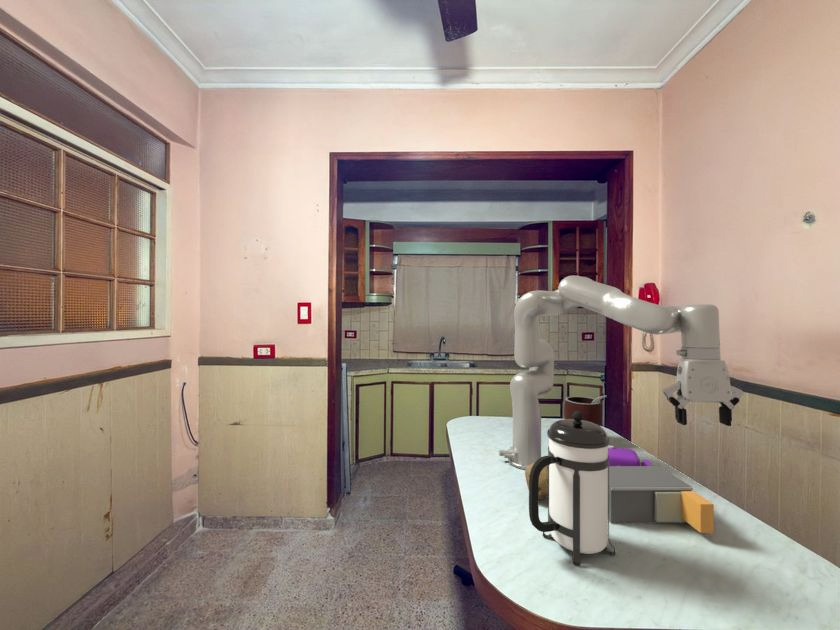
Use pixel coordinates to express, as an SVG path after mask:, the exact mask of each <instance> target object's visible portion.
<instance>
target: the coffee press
mask: <svg viewBox="0 0 840 630" xmlns="http://www.w3.org/2000/svg"><path fill="white" fill-rule="evenodd" d="M572 417H573V419H565V418H564V419H559V420H556V421H554V422H553V423H552V424H550V427H549V428H548V430H547V432H546V435H547V438H548V446H547V455H544V456H541V458H539V459H538V460H537V461H536V462H535V463H534V465H533V466H532V469H531V472H530V477H529V489H528V515H529V520H530V522H531V525H532V526H533V527H534V528H535V529H536V530H537V531H539V532H542V537H543V538H544V539H546V540H548V539H550V538H553V539H554V541H555V542H557V544H559V545H561V547H564V548H565V549H567V550H569V551H572V564H573V565H578V566H580V565H581V554H584V555H585V554H587V555H588V554H589V555H591V554H598V553H600V552H602V551H604V550H605V552H606V553H607V554H608V555H609V556H616V547H615V546H614V544H613V543H612V541H611V539H610V522H609V455H608V446H609V445H611V438H610V437H609V435H608V434H607V431H606V430H605V429H604V428H603V427H602V426H599V425H597V424H595V423H592V422H589V421H584V420H582V419H583V415H582V413H581V412H578V411H576V412H574V413H573V415H572ZM545 466H548V496H547V521H541V520H540V515H539V501H540V499H539V475H540V472H541V471H542V469H543V468H544V467H545ZM546 533H549V534H546ZM608 544H609V546H610V547H611V549H612V551H611V550H610V549H608V547H607V545H608Z"/></svg>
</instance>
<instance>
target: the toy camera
mask: <svg viewBox="0 0 840 630" xmlns="http://www.w3.org/2000/svg"><path fill="white" fill-rule="evenodd" d="M608 455H609V466H652V465H651V462H650V460H649V459H645V460H643V461H640V458H639V456H638V454H637V453H636V451H635V450H633V449H630V448H622V447H615V446H614V445H611V444H609V446H608Z"/></svg>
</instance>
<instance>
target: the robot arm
mask: <svg viewBox="0 0 840 630" xmlns="http://www.w3.org/2000/svg"><path fill="white" fill-rule="evenodd" d="M579 307H581V308H584V309H587V310H590V311H593V312H595V313H597V314H600V315H603V316H605V317H607V318H608V319H612V320H613V321H616V322H618V323H620V324H622V325H625V326H628V327H630V328H632V329H635V330H639V331H641V332H643V333H648V334H650V335H655V336H656V335H666V334H674V333H680V336H681V337H680V338H681V341H680V342H681V347H680V349H677V350H676V353H675V354H676V355H677V356H680V357H681V359H679V360H678V365H677V370H676V382H675V383H674V384H672V385H669V386H667V387H665V388H663V389H662V393H663V394H664V396H665V397H666V400H667V401H668V402H669V403H671V404H672V406H673V407H674V412H675V413H674V415H675V416H674V417H675V420H676V422H677V423H678V424H680V425H682V426H686V425H687V424H688V419H687V416H688V413H687V409H686V408H685V407H686V405H687V404H688V403H689V402H691V403H719V404H720V405H721V406H719V407H718V417H719V418H718V419H719V420H718V422H719V423H720V424H722V425H725V426H727V427H731V426H732V421H733V414H732V413H733V411H732V410H734V409H735V406H736V405H737V404H738V403H739V402H740V399H741V398H742V395H743V394H744V391H743V390H742V389H740V388H738V387H736V386H733V385H731V379H730V375H729V370H728V367H727V363H726V361H725V360H723V359H721V356H722V355H721V338H720V337H721V336H720V333H721V332H720V313H719V310H720V309H719V308H718V306H717V305H715V304H689V305H684V306H680V305H679V306H676V305H665V304H656V303H654V302H653V303H652V302H649V301H647V300H642V299H640V298H636V297H634V296H631V295H629V294H626V293H624V292H622V290H621V289H619V288H617V287H615V286H612V285H608V284H604V283H602V282H598V281H595V280H593V279H591V278H590V277H587V276H580V275H568V276H566V277H563V279H561V280H560V282H559V283H558V286H557V289H556V290H553V291H552V290H540V289H537V290H532V291H528V292H526V293H524V294H522V296H521V297H520V298H518V300H517V301H516V304H515V306H514V311H513V316H514V317H513V318H514V320H513V321H514V343H513V344H514V351H513V352H514V361H515V363H516V365H518V367H520V368H523V369H528V370H525V371H521V372H518V373H516V374H515V375H513V377H512V378H511V380H510V383H509V391H510V392H509V393H510V397H511V404H512V407H511V408H512V446H510V448H509V449H507V450H505V449H504V450H503V449H499V450H498V455H499V457H504V459H507V461H508V463H509V464H510V465H511V466H513V467H515V468H517V469H521V470H526V468H527V467H528V466H529V465H530V464H532V463H534V462H536V461H537V460H538V459H539V458H541V457H542V409H541V405H540V402H539V397H543V396H546V395H548V394H550V392H551V391H552V389H553V387H554V382H555V381H554V379H555V377H554V376H555V354H554V349H553V348H552V345H551V344H550V343H549V342H547V341H546V340H544V339H541V326H540V322H539V320H538V318H539V317H543V316H545V317H553V316H558V315H561V314H564V313H567V312H569V311H572V310H574V309H576V308H579ZM674 392H676V395H677V397H676V398H675V397H674V395H673V393H674Z"/></svg>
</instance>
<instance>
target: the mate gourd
mask: <svg viewBox="0 0 840 630" xmlns="http://www.w3.org/2000/svg"><path fill="white" fill-rule="evenodd" d="M604 398H607V394H606V395H602V396H601V395H600V396H598V397H596V398H593V397H588V396H581V395H578V396H576V395H575V396H573V395H572V396H567V397H565V402H564V407H563V415H564V419H573V417H572V415H573V413H574V412H576V411H578V412H581V413H582V415H583V419H582V420H584V421H589V422H592V423H595V424H597V425H599V426H600V427H602V426H601V425H602V422H603V420H602V419H603V409H602V403H601V400H602V399H604Z"/></svg>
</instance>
